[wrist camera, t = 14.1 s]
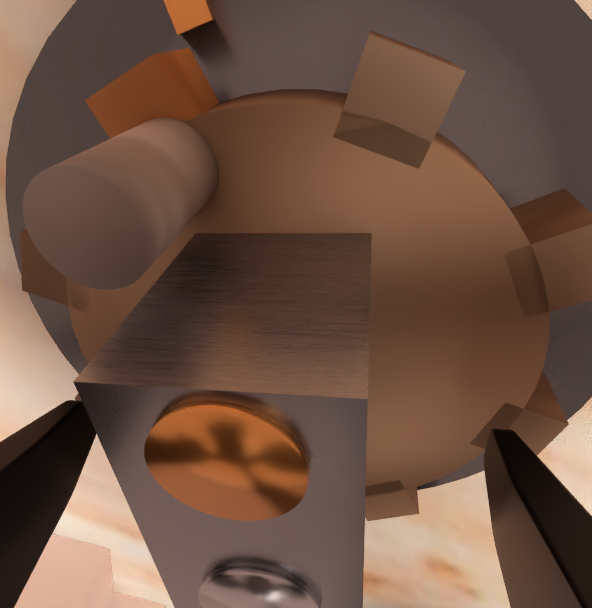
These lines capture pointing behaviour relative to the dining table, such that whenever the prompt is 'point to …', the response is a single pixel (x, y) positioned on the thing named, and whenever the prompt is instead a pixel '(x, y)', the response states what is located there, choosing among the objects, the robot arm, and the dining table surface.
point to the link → (245, 418)
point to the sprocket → (330, 219)
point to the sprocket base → (338, 78)
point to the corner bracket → (75, 579)
